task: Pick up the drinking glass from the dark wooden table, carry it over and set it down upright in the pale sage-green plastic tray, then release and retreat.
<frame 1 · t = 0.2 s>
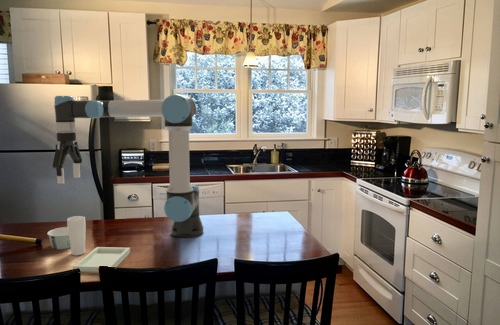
hand: (69, 180, 175), 28 cm above the table, fingers open, 13 cm apart
drinking glass: (78, 254, 163), on the table
tray: (103, 261, 155), on the table
food container: (63, 246, 173), on the table
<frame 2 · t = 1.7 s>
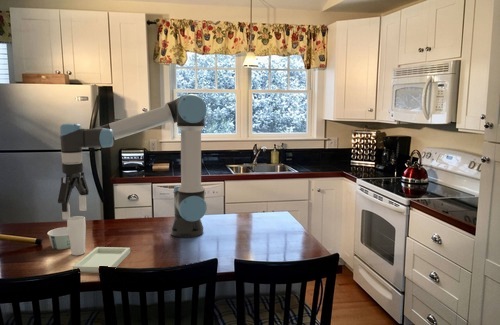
hand: (75, 214, 161), 16 cm above the table, fingers open, 13 cm apart
nothing on the table moved.
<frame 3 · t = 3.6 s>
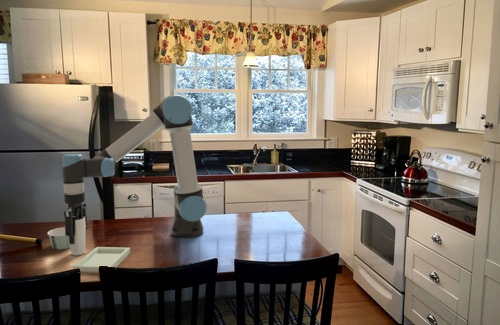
hand: (78, 247, 163), 2 cm above the table, fingers closed on drinking glass, 6 cm apart
drinking glass: (78, 254, 163), on the table, touching gripper
everything else where it was.
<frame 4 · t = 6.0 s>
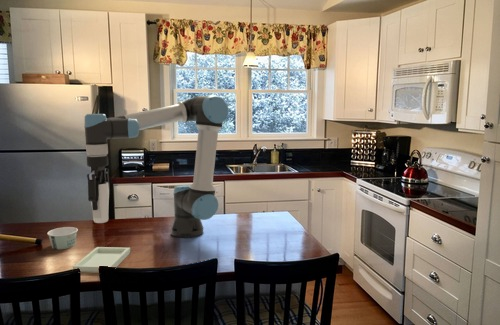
hand: (100, 215, 152), 19 cm above the table, fingers closed on drinking glass, 6 cm apart
drinking glass: (101, 222, 152), point 16 cm above the table, touching gripper
everything else where it was.
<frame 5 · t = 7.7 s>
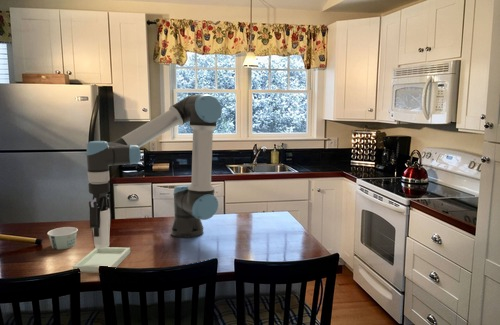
hand: (102, 240, 153), 8 cm above the table, fingers closed on drinking glass, 6 cm apart
drinking glass: (102, 247, 154), point 6 cm above the table, touching gripper
everything else where it was.
when the fingers open (4 cm above the table, at t = 8.9 s): drinking glass drops 1 cm, resting on tray.
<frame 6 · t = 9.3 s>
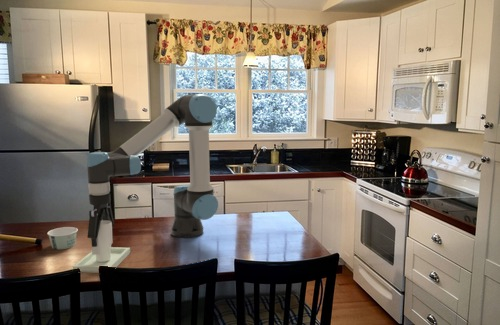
hand: (102, 248, 154), 5 cm above the table, fingers open, 11 cm apart
drinking glass: (103, 260, 155), resting on tray
everything else where it was.
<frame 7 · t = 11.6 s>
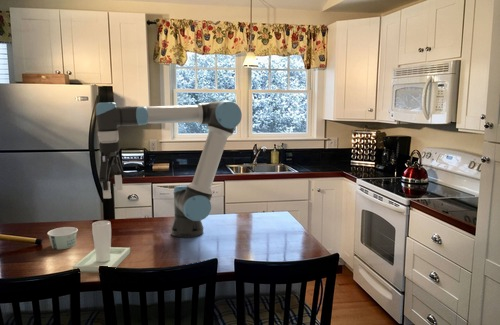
hand: (113, 194, 161), 25 cm above the table, fingers open, 13 cm apart
nothing on the table moved.
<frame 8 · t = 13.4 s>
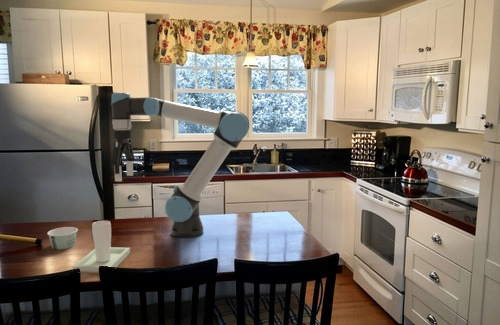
hand: (124, 178, 173), 29 cm above the table, fingers open, 13 cm apart
nothing on the table moved.
at the end: drinking glass inside the target area on the tray (0.0 cm from its centre), point 0.4 cm above the tray's base; drinking glass tilted 0°; the gripper is holding nothing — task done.
